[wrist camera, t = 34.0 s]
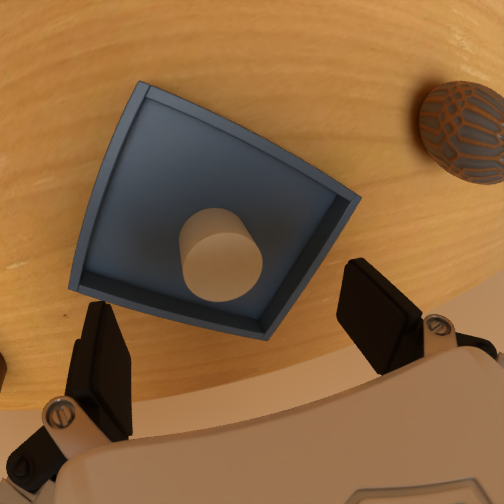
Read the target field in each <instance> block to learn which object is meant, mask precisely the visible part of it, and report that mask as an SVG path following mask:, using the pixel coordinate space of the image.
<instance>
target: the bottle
mask: <svg viewBox="0 0 504 504" xmlns="http://www.w3.org/2000/svg"><path fill="white" fill-rule="evenodd" d="M6 371H7V367H6V363H5V360H4V358H3V356H2V355H1V353H0V391H1V388H2V384H3V381H4V378H5V374H6Z"/></svg>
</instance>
